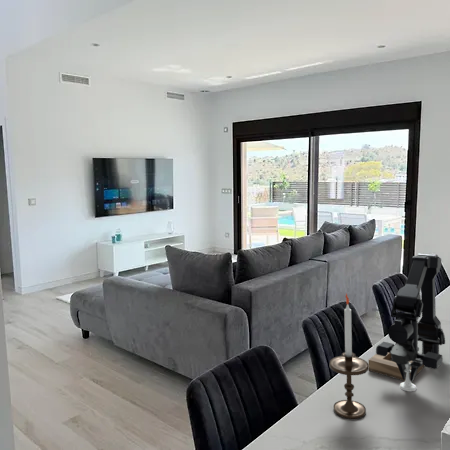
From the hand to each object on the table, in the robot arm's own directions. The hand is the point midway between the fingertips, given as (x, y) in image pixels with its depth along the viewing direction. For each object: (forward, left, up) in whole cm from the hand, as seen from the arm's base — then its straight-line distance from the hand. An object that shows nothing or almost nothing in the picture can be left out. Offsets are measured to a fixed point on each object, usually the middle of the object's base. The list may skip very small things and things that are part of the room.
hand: (407, 380), depth 135 cm
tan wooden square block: (-11, -8, -2) cm, 14 cm away
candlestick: (+24, -8, -3) cm, 25 cm away
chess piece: (0, 0, -3) cm, 3 cm away
